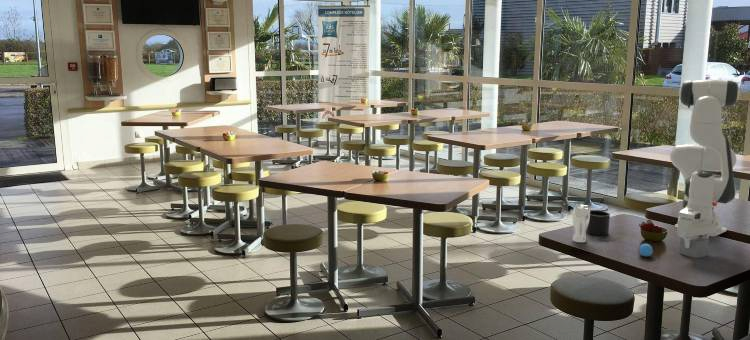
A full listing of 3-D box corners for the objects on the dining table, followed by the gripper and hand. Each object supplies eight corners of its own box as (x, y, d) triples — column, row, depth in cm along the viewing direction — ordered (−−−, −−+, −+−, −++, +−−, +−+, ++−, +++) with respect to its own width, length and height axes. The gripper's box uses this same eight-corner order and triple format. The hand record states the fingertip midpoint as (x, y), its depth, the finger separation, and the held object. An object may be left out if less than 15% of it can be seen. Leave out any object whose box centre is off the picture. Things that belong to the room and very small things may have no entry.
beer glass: (589, 243, 267) (591, 209, 264) (571, 242, 268) (574, 208, 266) (587, 239, 274) (589, 205, 271) (570, 237, 275) (572, 204, 272)
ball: (643, 253, 255) (645, 241, 254) (654, 257, 251) (656, 244, 250) (635, 255, 253) (636, 243, 252) (646, 259, 248) (647, 246, 247)
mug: (611, 230, 287) (612, 211, 285) (606, 237, 276) (607, 217, 275) (589, 227, 291) (591, 208, 289) (583, 234, 281) (585, 214, 279)
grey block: (690, 250, 259) (692, 235, 258) (707, 255, 253) (708, 239, 252) (679, 253, 256) (680, 237, 254) (695, 258, 249) (697, 242, 248)
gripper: (707, 208, 259) (703, 241, 261) (675, 212, 249) (672, 247, 251) (722, 211, 254) (718, 244, 256) (690, 216, 244) (687, 251, 246)
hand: (695, 246), depth 254 cm, fingers open, 8 cm apart
